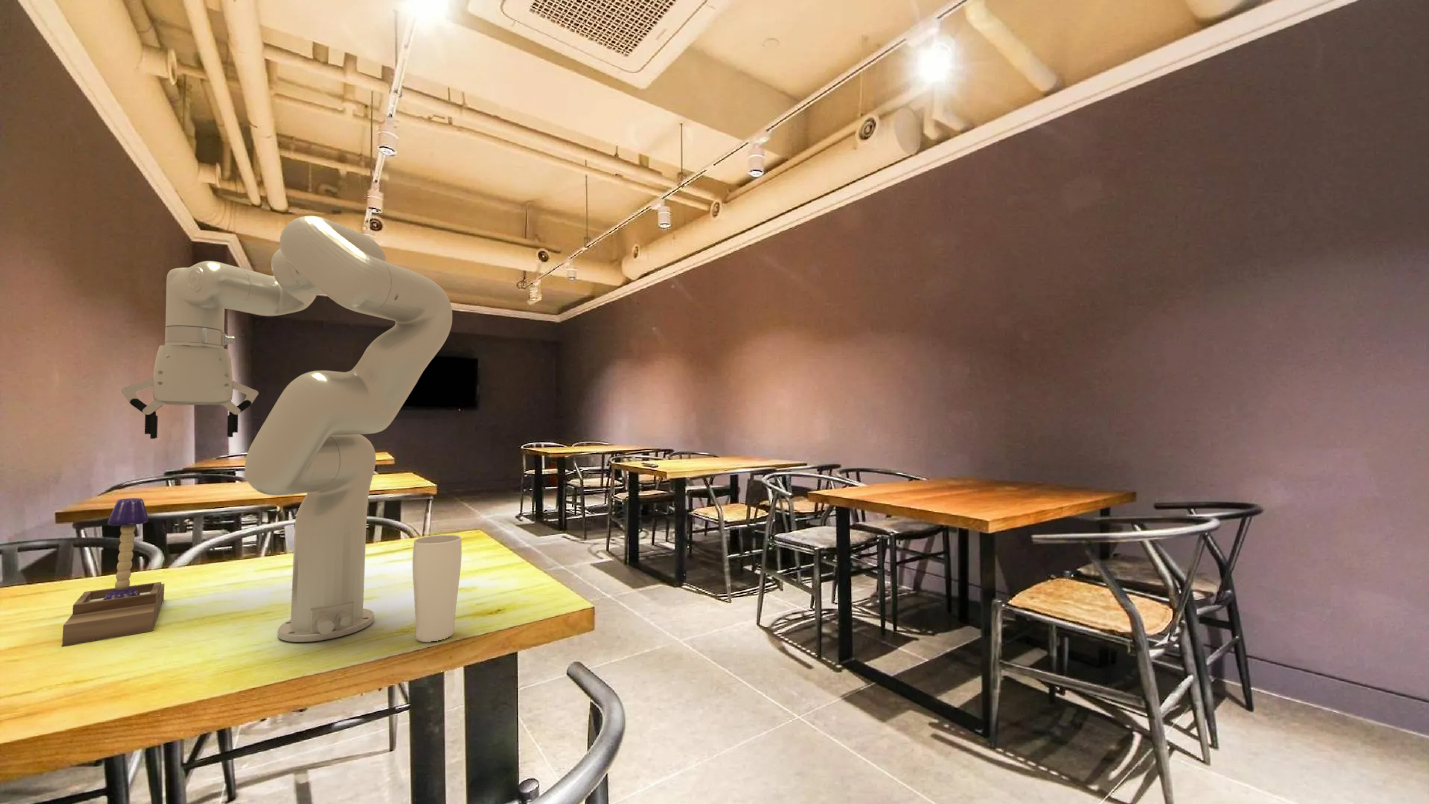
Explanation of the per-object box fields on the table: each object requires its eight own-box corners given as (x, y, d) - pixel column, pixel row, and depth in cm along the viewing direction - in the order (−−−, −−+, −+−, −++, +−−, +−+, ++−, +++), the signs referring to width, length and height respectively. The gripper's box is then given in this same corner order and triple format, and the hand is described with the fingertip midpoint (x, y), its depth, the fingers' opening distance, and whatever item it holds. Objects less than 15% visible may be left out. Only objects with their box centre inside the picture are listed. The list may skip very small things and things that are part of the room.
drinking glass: (467, 629, 88) (470, 535, 88) (442, 646, 81) (445, 544, 82) (428, 628, 88) (430, 534, 89) (399, 644, 82) (403, 542, 82)
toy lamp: (149, 594, 94) (155, 496, 95) (135, 602, 90) (140, 500, 90) (111, 598, 92) (117, 498, 93) (94, 606, 88) (100, 501, 88)
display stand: (152, 631, 86) (153, 601, 86) (61, 646, 80) (63, 614, 80) (163, 600, 101) (164, 575, 101) (88, 610, 95) (90, 584, 95)
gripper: (257, 347, 105) (256, 436, 104) (125, 338, 93) (122, 439, 92) (260, 342, 100) (259, 436, 99) (120, 332, 88) (117, 439, 87)
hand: (193, 437), depth 96 cm, fingers open, 9 cm apart
